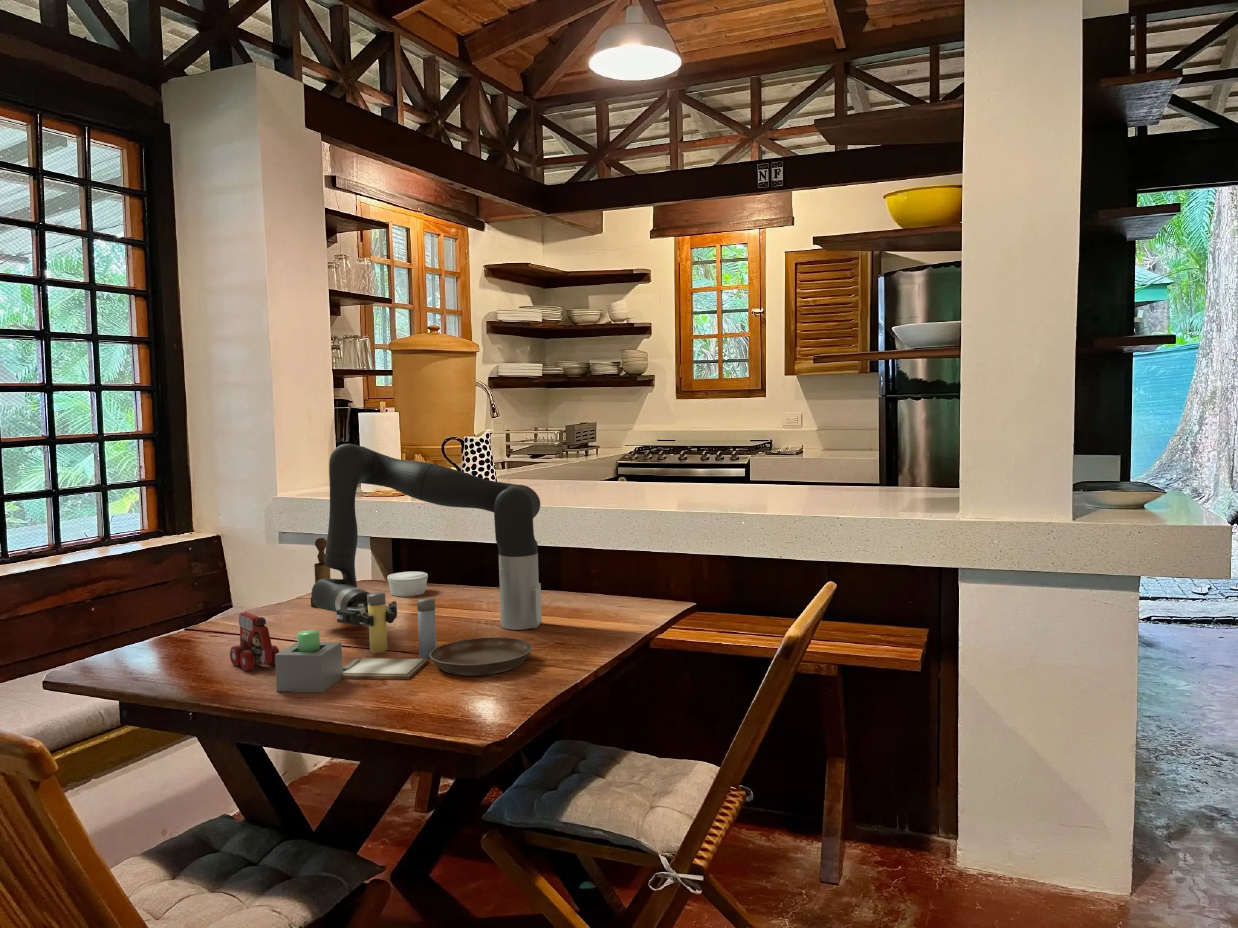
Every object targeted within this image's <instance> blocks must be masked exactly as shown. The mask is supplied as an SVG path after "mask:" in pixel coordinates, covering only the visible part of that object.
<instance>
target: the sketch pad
mask: <svg viewBox="0 0 1238 928" xmlns="http://www.w3.org/2000/svg"><path fill="white" fill-rule="evenodd" d="M429 661H430V658H420V657H418V658H416V657H415V658H414V657H413V658H410V657H409V658H408V657H407V658H404V657H358V658H357V659H353V660H351V661H350V662H349V663H347V664H346V665H345V666H342V667H343V675H342V679H350V680H351V679H355V680H357V679H358V680H361V679H363V680H365V679H366V680H371V679H372V680H410V679H411V678H412V677H413V676H414V675H416V674H417V673H418V672H419V671H420V670H421V669H422V668H423V667H424V666H425V665H427V664H428V663H429Z"/></svg>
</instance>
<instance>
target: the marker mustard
mask: <svg viewBox="0 0 1238 928" xmlns="http://www.w3.org/2000/svg"><path fill="white" fill-rule="evenodd" d="M369 593H370V594H367V604H368V613H369V614H371V615H373V618H374V626H368V635H369V651H370V652H371V653H382V652H386V651H388V649H389V648H388V629H387V627H388V626H387V622H386V606H387V605H386V592H384V591H381V592H380V591H379V592H378V591H377V592H369Z"/></svg>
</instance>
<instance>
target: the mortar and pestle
mask: <svg viewBox="0 0 1238 928" xmlns="http://www.w3.org/2000/svg"><path fill="white" fill-rule="evenodd" d="M326 543H327V538H325V537H318V538H317V539H316V540H315V542H314V545H315V547H316V549H317V550H318V554H317V560H318V562H317V563H316V562H315V563H314V567H313V568H314V584H315V583H316V582H317V581H318V580H320V579H324V578H329V579H331V568H329V567H327V566H326V565H325V563H324V559H325V551H326ZM310 607H312V608H318V607H317V606H316V605H315V604H314V602H313V600H312V596H310Z"/></svg>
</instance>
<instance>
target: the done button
mask: <svg viewBox="0 0 1238 928" xmlns="http://www.w3.org/2000/svg"><path fill="white" fill-rule="evenodd" d="M320 637H321V636H320V631H319V630H315V629H313V630H312V629H311V630H310V629H309V630H303V631H300V632H297V634H296V640H297V642H298V652H317V651H318V650H320V642H321V641H320Z"/></svg>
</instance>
